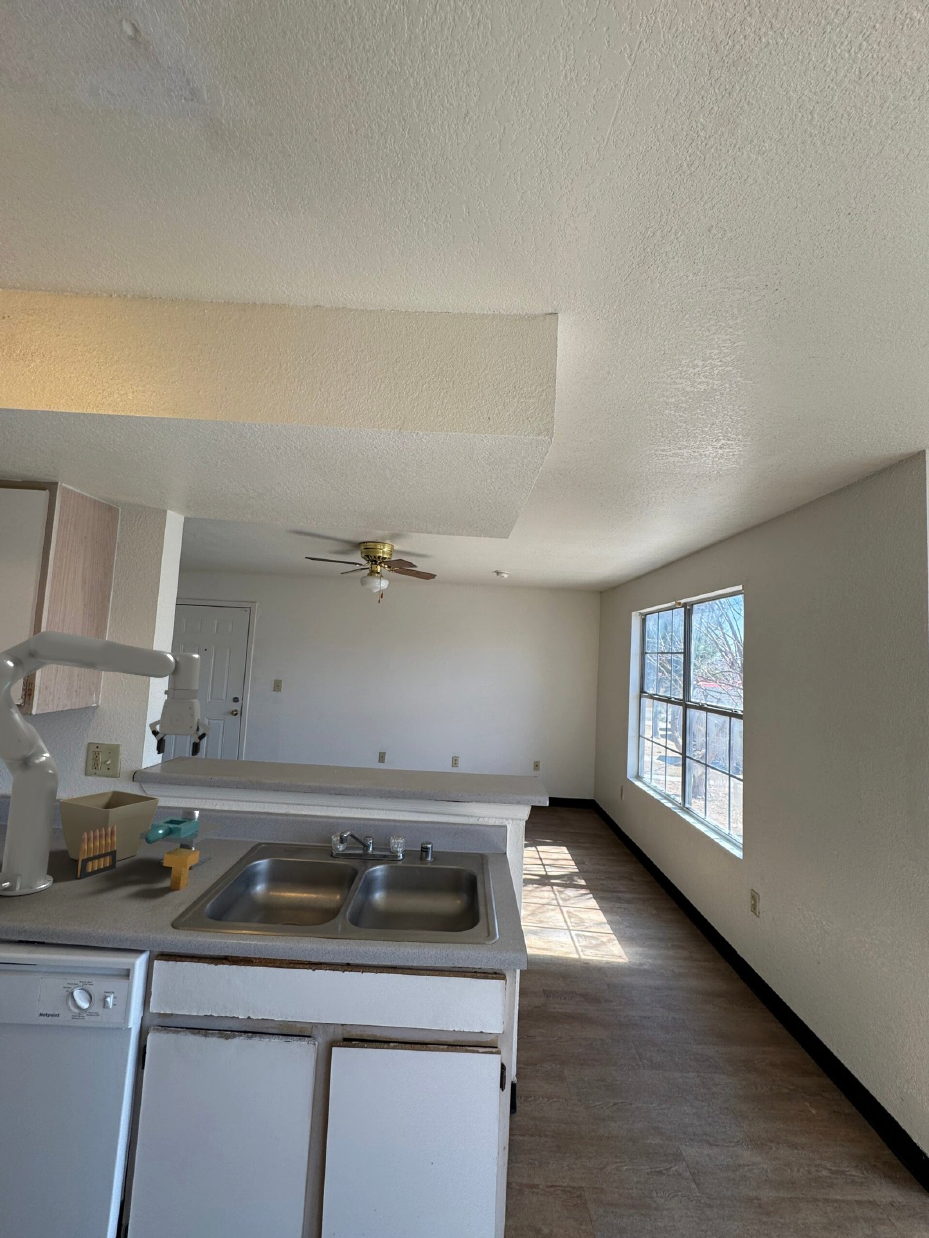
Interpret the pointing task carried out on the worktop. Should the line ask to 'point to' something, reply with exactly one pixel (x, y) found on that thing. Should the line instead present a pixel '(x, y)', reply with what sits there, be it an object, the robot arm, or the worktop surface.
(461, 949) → the worktop surface
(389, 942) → the worktop surface
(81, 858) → the ammunition clip
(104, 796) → the flower pot
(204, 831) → the teal meat grinder
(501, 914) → the worktop surface
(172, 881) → the tan t-shaped peg
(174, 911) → the worktop surface
